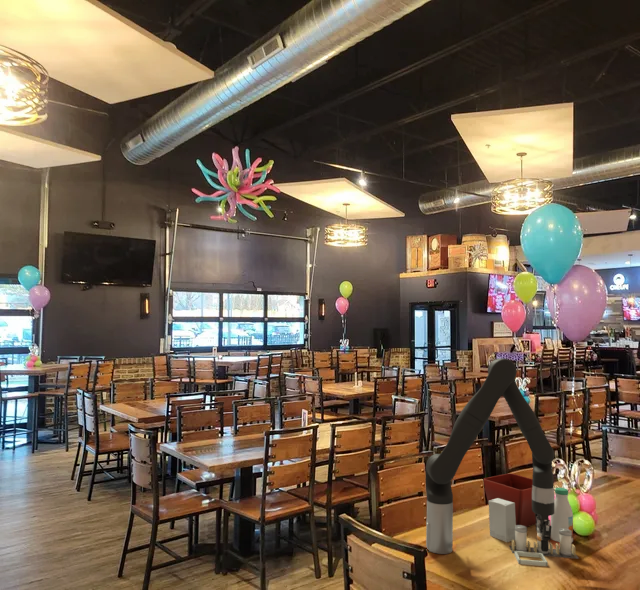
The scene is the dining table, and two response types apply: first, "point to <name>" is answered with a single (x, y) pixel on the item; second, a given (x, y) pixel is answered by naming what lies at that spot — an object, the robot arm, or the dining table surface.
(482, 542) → the dining table surface
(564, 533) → the cylinder
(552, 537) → the milk bottle
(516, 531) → the cylinder
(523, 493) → the plant pot
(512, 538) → the skincare box
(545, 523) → the robot arm
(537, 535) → the fuse marked
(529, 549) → the fuse block
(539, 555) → the grey square frame
